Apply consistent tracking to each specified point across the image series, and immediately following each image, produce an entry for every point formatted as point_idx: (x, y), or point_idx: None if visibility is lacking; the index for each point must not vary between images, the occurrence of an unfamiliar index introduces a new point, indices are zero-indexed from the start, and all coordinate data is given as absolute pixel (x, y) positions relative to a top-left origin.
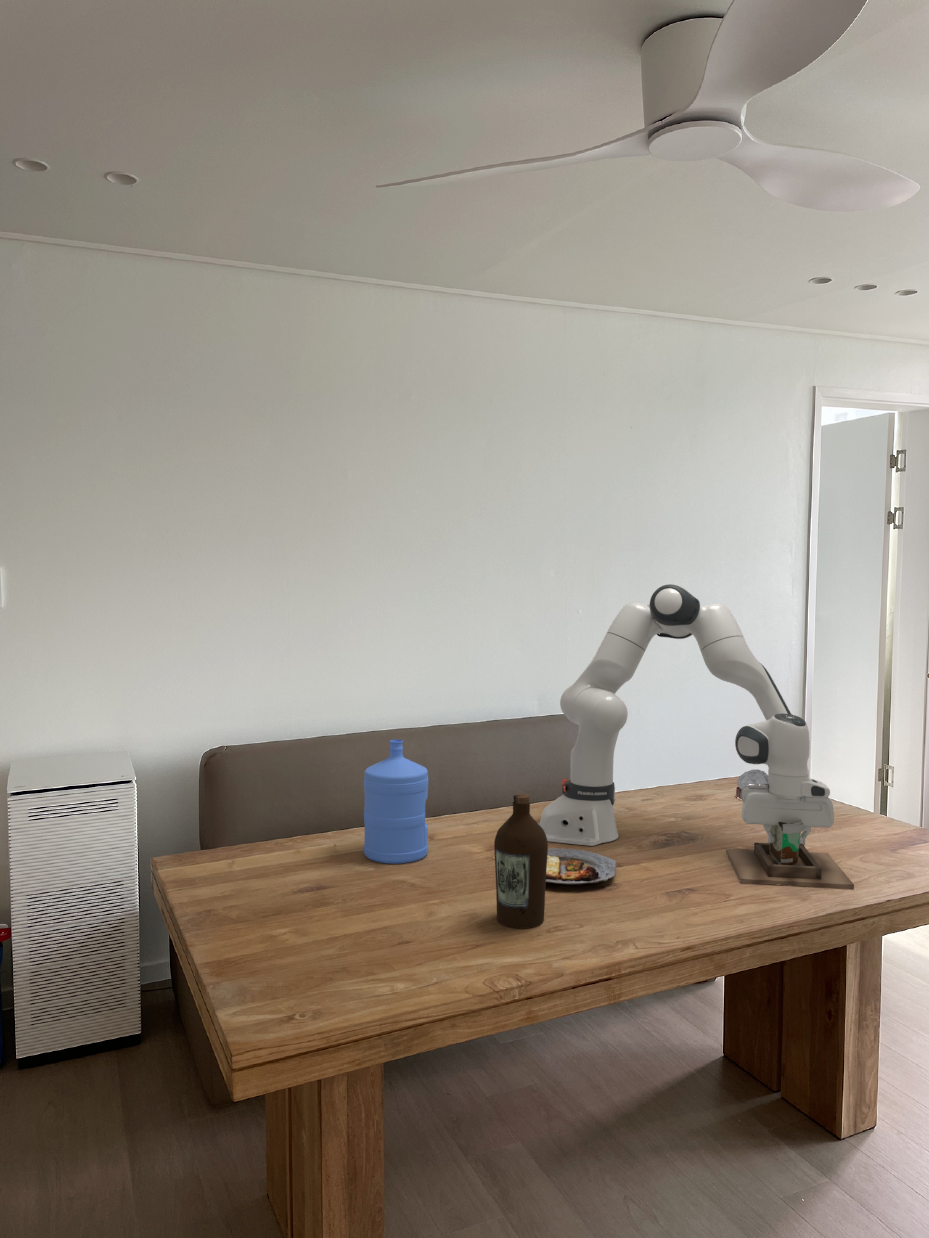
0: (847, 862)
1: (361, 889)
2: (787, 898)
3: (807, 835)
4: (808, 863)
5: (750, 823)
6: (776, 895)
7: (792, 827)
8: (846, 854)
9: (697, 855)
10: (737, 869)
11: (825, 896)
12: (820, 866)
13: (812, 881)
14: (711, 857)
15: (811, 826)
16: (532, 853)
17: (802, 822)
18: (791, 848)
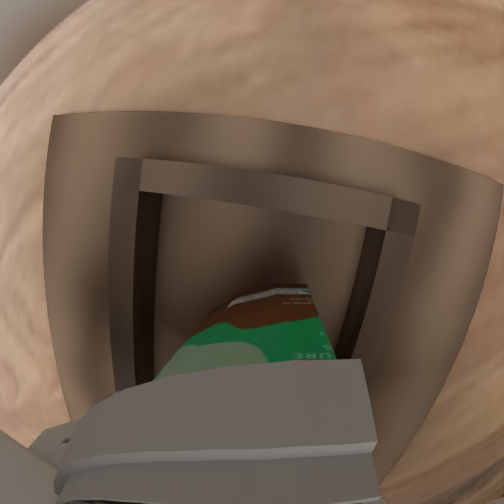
0: (37, 374)
1: None
2: (366, 6)
3: (76, 420)
4: (144, 314)
5: (495, 502)
6: (401, 37)
7: (185, 440)
8: (41, 419)
9: (466, 442)
10: (474, 301)
11: (199, 21)
12: (101, 330)
13: (195, 127)
14: (443, 437)
15: (15, 441)
16: None
17: (55, 495)
18: (231, 326)
